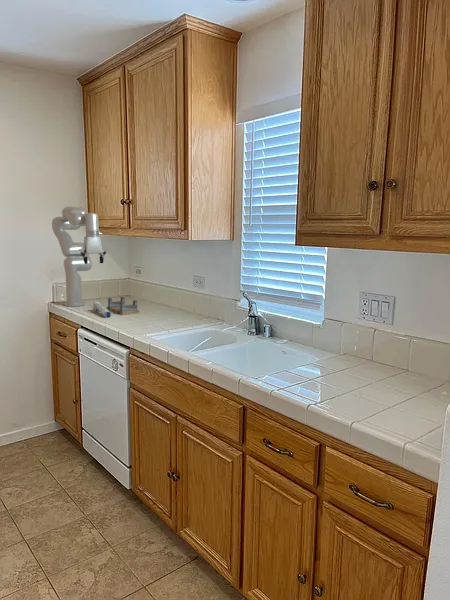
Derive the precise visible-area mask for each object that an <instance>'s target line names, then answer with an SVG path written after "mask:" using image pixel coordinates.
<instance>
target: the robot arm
mask: <svg viewBox="0 0 450 600" xmlns="http://www.w3.org/2000/svg"><path fill="white" fill-rule="evenodd" d="M61 215H62V216H57V217H54V218H52V222H51V229H52V231H53V233H54V236H55V237H56V238H57V241H58V243H59V247H60V250H61V253H62V255H63V256H64V257H65V258H64V259H63V268H64V274H65V291H66V292H65V293H66V302H64V303H63V305H64V307H82V306H84V305H85V302H83V294H82V293H83V291H82V290H83V289H82V278H81V276H80V274H79V273H78V272H87V271H90V270H91V269H92V264H93V263H92V258H91V257H90V256H91V254H98V255H99V263H100V264H104V256H105V255H106V254H107V251H108V249H107V247H104V246H103V243H102V239H101V236H100V235H102V232H100V226H99V224H100V223H99V215H98V213H97V212H86V210H85V208H83V207H82V206H65V207H64V208H62V210H61ZM81 227H85V236H84V237H83V238H84V239H83V242H75V241H73V237H72V236H71V235H70V233H68V232H67V231H68V230H69V231H76V230H79V229H80V228H81Z"/></svg>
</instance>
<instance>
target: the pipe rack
mask: <svg viewBox="0 0 450 600" xmlns="http://www.w3.org/2000/svg"><path fill="white" fill-rule="evenodd" d="M125 300H126V299H125V297H124V296H120V300H116V301H113V298H112V297H108V298H107V306H106V309H108V310H109V311H110V312H112V313H114V314H115V313H116V314H118V315H122V316H127V315H128V316H129V315H137V314H139V313H140V309H138V300H136V299H133V300H132V304H126V305H125V303H126V302H125Z"/></svg>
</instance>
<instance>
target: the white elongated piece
mask: <svg viewBox="0 0 450 600" xmlns="http://www.w3.org/2000/svg"><path fill="white" fill-rule="evenodd" d="M91 308H92V312H93V313H94V312H95V313H101V315H102V317H104V318H107V319H108V318H111V317H112V313H111V311H109V310H108V309H107V308H105V307H104V306H102V305H101V302H100V301H94V302H93V305H92V306H91Z"/></svg>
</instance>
